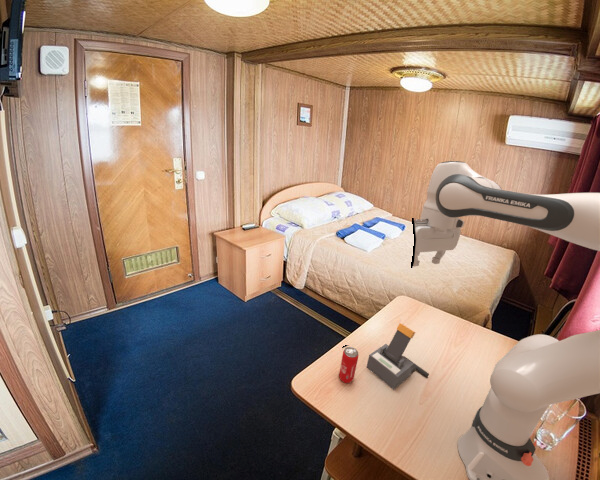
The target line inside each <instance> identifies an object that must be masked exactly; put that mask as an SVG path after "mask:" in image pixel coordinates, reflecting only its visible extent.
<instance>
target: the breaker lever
mask: <svg viewBox="0 0 600 480" xmlns="http://www.w3.org/2000/svg"><path fill="white" fill-rule="evenodd" d="M415 334H416V332H415V331H414V330H413V329H411V328H409V327H408V326H406V325H404V324H403V323H399V324H398V326H397V327H396V332H395V333H394V335H393V337H392V339H391V340H390V343H389V345H388V348H387V349H385V350H384V352H383V354H385V355H386V356H387V357H389V358H390V359H391V360H393V361H394V362H395V363H397V364H398V363H399V361H400V360H401V359H400V358H401V356H403V354H404V352H405V351H406V348H407V347H408V345H409V344H410V341H411V339H413V338H414V336H415Z"/></svg>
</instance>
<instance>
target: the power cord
mask: <svg viewBox="0 0 600 480" xmlns="http://www.w3.org/2000/svg"><path fill="white" fill-rule="evenodd" d="M403 356H404V355H403ZM404 357H405V358H406V359H408V360H409V361H411V362H412V363H413V364H414V365H413V368H412V371H411V374H413V373H414V372H415V371H417V372H418V373H420V374H421V375H422V376H424V378H429V375H430V373H429V372H427V371H426V370H425V369H424V368H422V367H420V366H419V365H418V364H416V363H415V362H414V361H412V360H411V359H409V358H408V357H406V356H404Z"/></svg>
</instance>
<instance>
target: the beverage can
mask: <svg viewBox="0 0 600 480" xmlns="http://www.w3.org/2000/svg"><path fill="white" fill-rule="evenodd" d="M343 349H344V350H343V351H342V357H341V362H340V367H339V368H340V369H339V372H338V376H339V378H340V381H341V382H342V383H345V384H350V383H351V382H353V380H354V379H355V375H356V369H357V365H358V361H359V360H358V359H359V352H358V349H356V348H355V347H352V346H346V347H344V348H343Z"/></svg>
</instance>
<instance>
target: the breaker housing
mask: <svg viewBox="0 0 600 480" xmlns="http://www.w3.org/2000/svg"><path fill="white" fill-rule="evenodd" d="M388 346H389V345H388V344H387V343H385V344H384V345H382V346H380V347H379V348H377V349H376V350H374V351H373V352H372V353H370V354H369V355H368V359H367V364H366V368H367V369H369V371H371V372H372V373H373V374H374V375H375V376H377V377H378V378H379V379H380V380H381V381H382V382H384V383H385V385H387V386H388V387H390V388H391V389H392V390H394V391H395V389H397V388H398V387H399V386H400V385H402V384H403V383H405V382H406V380H408V379H409V378H410V377H411V374H412V373H411V371H412V368H413V365H414V364H413V363H414V362H413V361H412V360H410V359H409V358H408V359H409V360H410V361H409V360H408V359H406V358H407V357H406V356H405V357H406V358H405V357H404V355H402V356H401V358H400V359H401V360H400V361H399V363H398V364H397V363H395V362H394V361H393V360H391V359H390V358H389V357H387V356H386V355H385V354H383V352H384V350H385V349H387V348H388ZM411 361H412V362H413V363H412V362H411Z"/></svg>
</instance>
